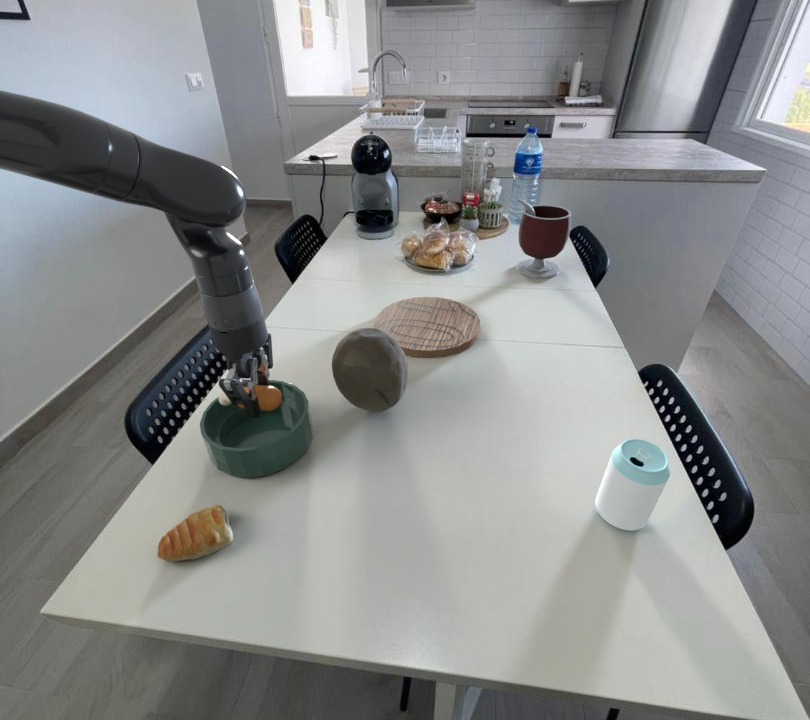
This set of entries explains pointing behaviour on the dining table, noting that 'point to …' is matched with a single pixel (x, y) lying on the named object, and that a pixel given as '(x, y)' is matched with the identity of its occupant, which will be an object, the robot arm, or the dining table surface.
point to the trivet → (430, 326)
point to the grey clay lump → (370, 369)
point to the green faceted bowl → (258, 434)
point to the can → (632, 484)
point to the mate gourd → (542, 238)
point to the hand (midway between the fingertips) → (260, 405)
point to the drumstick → (260, 397)
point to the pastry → (197, 535)
